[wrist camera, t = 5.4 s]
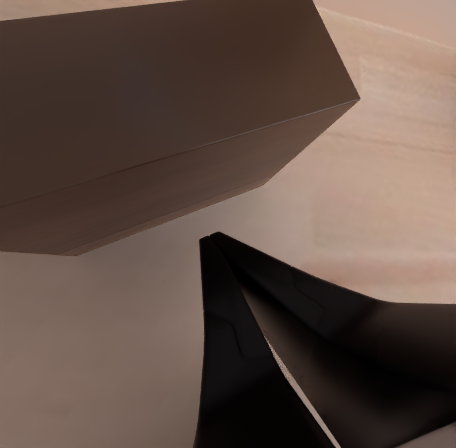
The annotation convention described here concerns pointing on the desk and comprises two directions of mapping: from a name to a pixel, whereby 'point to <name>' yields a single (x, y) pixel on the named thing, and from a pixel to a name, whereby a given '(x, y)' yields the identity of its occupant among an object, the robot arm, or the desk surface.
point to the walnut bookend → (154, 113)
